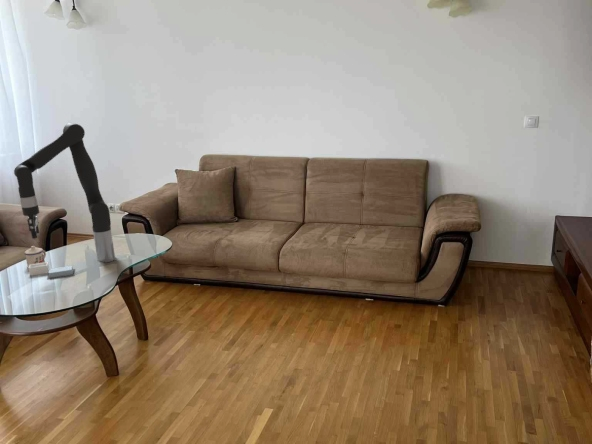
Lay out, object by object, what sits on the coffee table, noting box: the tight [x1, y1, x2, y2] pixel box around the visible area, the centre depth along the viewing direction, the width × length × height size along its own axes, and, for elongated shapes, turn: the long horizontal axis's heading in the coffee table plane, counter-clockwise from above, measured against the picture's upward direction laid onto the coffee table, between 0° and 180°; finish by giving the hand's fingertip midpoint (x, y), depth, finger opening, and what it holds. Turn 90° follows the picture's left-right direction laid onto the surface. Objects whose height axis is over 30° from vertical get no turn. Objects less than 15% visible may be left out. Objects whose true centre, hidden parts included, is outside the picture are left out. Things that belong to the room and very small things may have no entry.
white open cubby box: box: [27, 261, 50, 276], centre depth 288 cm, size 9×6×5 cm, turn 109°
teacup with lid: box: [24, 245, 47, 268], centre depth 299 cm, size 12×9×12 cm
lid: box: [49, 265, 74, 278], centre depth 284 cm, size 11×6×3 cm, turn 108°
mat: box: [46, 268, 76, 280], centre depth 285 cm, size 13×10×1 cm
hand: (36, 235), depth 282 cm, fingers open, 8 cm apart
